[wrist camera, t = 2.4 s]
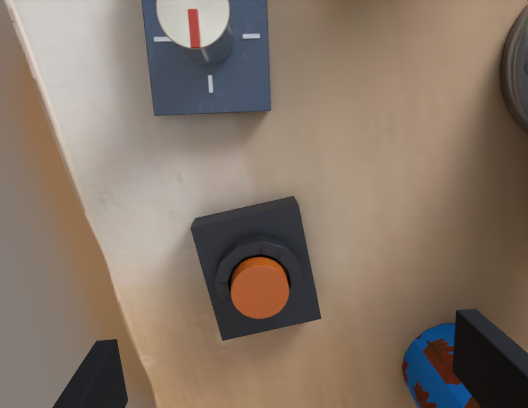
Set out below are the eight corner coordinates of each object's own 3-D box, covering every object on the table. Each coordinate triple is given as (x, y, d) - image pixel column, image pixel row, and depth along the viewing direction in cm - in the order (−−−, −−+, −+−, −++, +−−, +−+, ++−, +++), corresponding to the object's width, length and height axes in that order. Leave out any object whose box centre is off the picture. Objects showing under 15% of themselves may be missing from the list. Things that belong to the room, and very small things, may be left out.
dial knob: (177, 9, 29) (149, -34, 21) (232, 7, 29) (227, -36, 21) (182, 67, 30) (158, 49, 22) (235, 65, 31) (232, 46, 22)
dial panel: (145, -32, 31) (135, -45, 28) (263, -35, 31) (265, -48, 29) (160, 115, 34) (153, 115, 31) (269, 111, 34) (270, 110, 31)
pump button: (225, 263, 33) (224, 272, 31) (280, 250, 33) (282, 259, 31) (238, 312, 34) (238, 324, 32) (291, 300, 34) (294, 312, 32)
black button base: (195, 218, 36) (187, 234, 31) (293, 196, 36) (301, 208, 31) (224, 322, 39) (221, 352, 34) (315, 302, 39) (325, 329, 34)
